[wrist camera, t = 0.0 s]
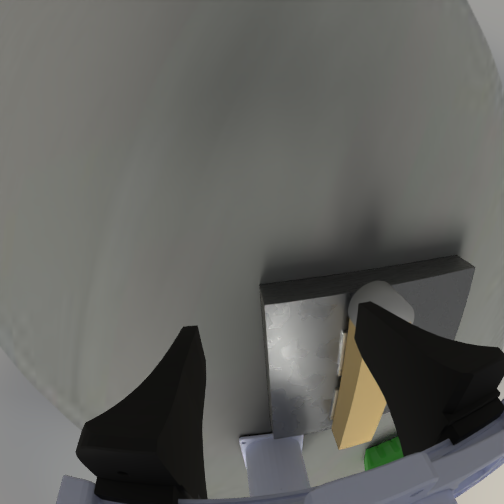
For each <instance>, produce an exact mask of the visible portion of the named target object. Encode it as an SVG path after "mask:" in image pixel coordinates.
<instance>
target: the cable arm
mask: <svg viewBox="0 0 504 504" xmlns="http://www.w3.org/2000/svg"><path fill="white" fill-rule="evenodd" d="M368 301H371V302H373V303H375V304H377V305H379V306H381V307H383V308H384V309H386V310H388V311H390V312H391V313H393V314H395V315H396V316H398V317H400V318H402V319H404V320H406V321H407V322H409V323H411V324H413V322H414V310H413V308H412V307H411V305H410V304H409V303H408V302H407V301H406V300H405V299H404V298H403V297H402V296H401V295H400V294H399V293H398V292H397V291H396V290H395V289H394V288H393V287H392V286H391V285H390V284H389V283H387V282H385V281H373V282H370V283H368V284H366V285H364V286H362V287H361V288H360V289H359V290H358V291H357V292H356V293H355V294H354V296H353V297H352V299H351V301H350V303H349V307H348V315H349V318H350V319H349V328H348V336H347V343H346V350H345V357H344V364H343V370H342V376H341V382H340V388H339V393H338V399H337V404H336V409H335V414H334V419H333V424H332V428H331V429H332V432H333V435H334V437H335V440H336V443H337V446H338V449H339V450H341V449H345V448H348V447H352V446H355V445H359V444H362V443H365V442H369V441H371V440H372V437H373V435H374V433H375V430H376V428H377V426H378V423H379V421H380V418H381V416H382V413H383V411H384V408H385V406H386V400H385V398H384V396H383V394H382V392H381V390H380V388H379V386H378V384H377V383H376V381H375V379H374V377H373V376H372V374H371V372H370V371H369V369H368V367H367V365H366V364H365V362H364V360H363V358H362V357H361V354H360V352H359V350H358V347H357V345H356V342H355V339H354V335H355V328H356V320H357V313H358V304H359V303H363V302H368Z"/></svg>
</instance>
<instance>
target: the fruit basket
mask: <svg viewBox="0 0 504 504" xmlns="http://www.w3.org/2000/svg"><path fill="white" fill-rule="evenodd" d="M403 457H404V456H403V452H402V448H401V444H400V440H399V437H398V436H397V437H395V438H393V439H391V440H389V441H386V442H384V443H381V444H379V445H377V446H374V447H371V448H369V449H366V453H365V460H364V464H365V471H367V470H370V469H373V468H376V467H379V466H382V465H384V464H387V463H390V462H392V461H395V460H398V459H400V458H403Z"/></svg>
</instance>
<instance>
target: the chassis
mask: <svg viewBox="0 0 504 504" xmlns="http://www.w3.org/2000/svg"><path fill="white" fill-rule="evenodd" d="M474 270H475V267H474V266H473V265H471V264H470V263H468V262H467V261H465V260H464V259H462V258H461V257H459V256H458V255H453V256H448V257H442V258H437V259H431V260H425V261H420V262H414V263H408V264H402V265H396V266H390V267H383V268H377V269H371V270H364V271H357V272H351V273H344V274H337V275H330V276H323V277H316V278H309V279H301V280H294V281H286V282H278V283H270V284H262V285H259V286H260V298H261V311H262V323H263V336H264V348H265V361H266V373H267V386H268V399H269V412H270V422H271V427H272V433H273V438H274V439H281V438H287V437H293V436H298V435H304V434H309V433H314V432H318V431H323V430H327V429H331V428H332V424H333V419H334V414H335V409H336V404H337V399H338V393H339V388H340V382H341V376H342V370H343V364H344V357H345V350H346V343H347V336H348V328H349V319H350V318H349V315H348V307H349V303H350V301H351V299H352V297H353V296H354V294H355V293H356V292H357V291H358V290H359V289H360V288H361V287H362V286H364V285H366V284H368V283H370V282H373V281H385V282H387V283H389V284H390V285H391V286H392V287H393V288H394V289H395V290H396V291H397V292H398V293H399V294H400V295H401V296H402V297H403V298H404V299H405V300H406V301H407V302H408V303H409V304H410V305H411V307H412V308H413V310H414V322H413V325H415V326H417V327H419V328H421V329H424V330H426V331H428V332H431V333H433V334H436V335H438V336H441V337H444V338H447V339H451V340H454V339H455V336H456V333H457V330H458V327H459V324H460V321H461V318H462V315H463V312H464V308H465V305H466V302H467V298H468V294H469V291H470V287H471V283H472V279H473V275H474ZM388 412H390V410H389V408H388V405H387V403H386V406H385V408H384V411H383V413H382V414H385V413H388Z"/></svg>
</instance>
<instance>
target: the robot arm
mask: <svg viewBox="0 0 504 504" xmlns="http://www.w3.org/2000/svg"><path fill="white" fill-rule="evenodd" d="M354 339H355V342H356V345H357V347H358V350H359V352H360V354H361V357H362V358H363V360H364V362H365V364H366V365H367V367H368V369H369V371H370V372H371V374H372V376H373V377H374V379H375V381H376V383H377V384H378V386H379V388H380V390H381V392H382V394H383V396H384V398H385V400H386V403H387V405H388V408H389V410H390V413H391V416H392V418H393V421H394V424H395V427H396V430H397V434H398V437H399V440H400V444H401V448H402V452H403V456H404V457H403V458H400V459H398V460H395V461H392V462H390V463H387V464H384V465H382V466H379V467H376V468H373V469H370V470H367V471H364V472H361V473H357V474H354V475H351V476H347V477H344V478H340V479H337V480H334V481H331V482H328V483H325V484H323V485H321V486H316V487H312V488H311V487H310V483H309V479H308V475H307V471H306V467H305V463H304V459H303V455H302V446H303V436H304V435H298V436H293V437H287V438H281V439H274V438H273V433H271V434H263V435H255V436H246V437H240V438H239V443H240V446H241V450H242V454H243V458H244V462H245V466H246V468H247V474H248V483H249V491H250V497H244V498H229V499H207V491H206V482H205V471H204V458H203V439H202V420H203V409H204V398H205V387H206V360H205V356H204V351H203V347H202V343H201V339H200V335H199V330H198V326H186V327H183V328H182V329H181V331H180V333H179V334H178V336H177V338H176V339H175V341H174V342H173V344H172V345H171V347H170V348H169V350H168V351H167V353H166V354H165V356H164V357H163V359H162V360H161V361H160V362H159V364H158V365H157V366H156V368H155V369H154V370H153V371H152V373H151V374H150V375H149V376H148V377H147V378H146V379H145V380H144V381H143V382H142V383H141V384H140V385H139V386H138V387H137V388H136V389H135V390H134V391H133V392H132V393H130V394H129V395H128V396H127V397H126V398H125V399H123V400H122V401H121V402H119V403H118V404H116V405H115V406H114V407H112V408H111V409H109V410H108V411H106V412H104V413H103V414H101V415H99V416H97V417H95V418H94V419H92V420H90V421H88V422H86V423H85V425H84V427H83V430H82V432H81V436H80V439H79V442H78V446H77V449H76V455H77V457H78V458H79V460H80V461H81V462H82V463H83V464H84V465H85V466H86V467H87V468H88V469H89V470H90V471H91V472H92V473H93V474H94V475H96V476H97V481H96V484H95V483H93V482H91V481H88V480H85V479H80V478H76V477H72V476H68V475H64V476H63V479H62V482H61V486H60V490H59V494H58V498H57V502H56V504H457V502H456V500H455V498H456V497H458V496H460V495H461V494H463V493H464V492H465V491H467V490H469V489H470V488H471V487H473V486H474V485H476V484H477V483H479V482H480V481H481V480H483V479H484V478H485V477H487V476H488V475H489V474H491V473H492V472H493V471H495V470H496V469H497V468H498V467H500V466H501V465H502V464H503V463H504V399H503V400H502V401H500V400H499V398H498V397H499V395H500V392H499V391H498V390H497V387H498V385H499V384H500V382H501V380H502V378H503V377H504V353H503V352H502V351H501V350H500V349H499V348H498V347H487V346H478V345H472V344H466V343H462V342H458V341H454V340H451V339H447V338H444V337H441V336H438V335H436V334H433V333H431V332H428V331H426V330H424V329H421V328H419V327H417V326H415V325H413V324H411V323H409V322H407V321H406V320H404V319H402V318H400V317H398V316H396V315H395V314H393V313H391V312H390V311H388V310H386V309H384V308H383V307H381V306H379V305H377V304H375V303H373V302H371V301H368V302H363V303H359V304H358V313H357V320H356V328H355V335H354Z"/></svg>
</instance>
